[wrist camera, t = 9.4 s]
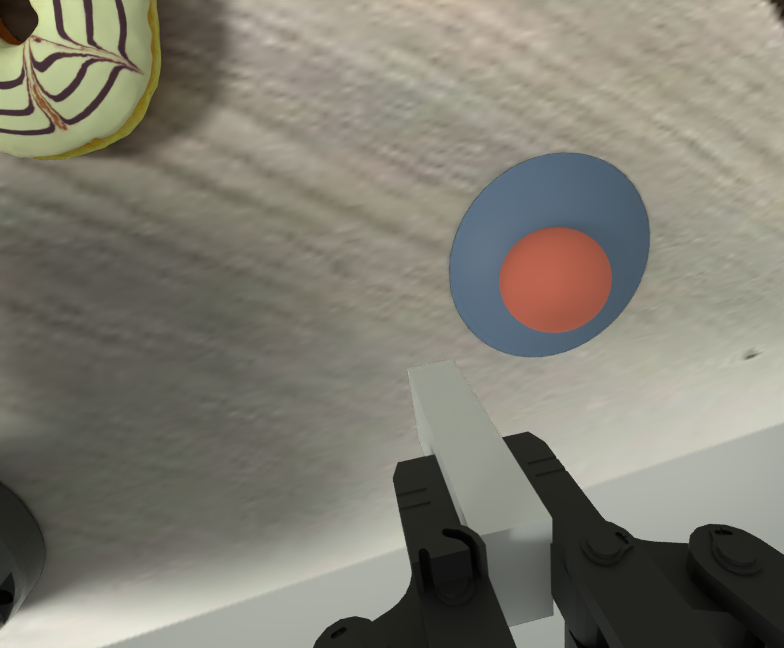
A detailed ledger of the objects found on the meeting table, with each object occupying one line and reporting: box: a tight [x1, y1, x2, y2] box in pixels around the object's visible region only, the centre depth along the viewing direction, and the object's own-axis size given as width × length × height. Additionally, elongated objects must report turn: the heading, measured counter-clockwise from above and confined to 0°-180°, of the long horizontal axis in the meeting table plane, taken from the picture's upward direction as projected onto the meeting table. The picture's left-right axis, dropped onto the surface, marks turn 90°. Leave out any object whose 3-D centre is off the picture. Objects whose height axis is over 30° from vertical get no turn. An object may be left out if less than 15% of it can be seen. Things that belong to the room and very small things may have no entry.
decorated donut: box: [0, 0, 161, 160], centre depth 17 cm, size 10×11×4 cm
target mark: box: [449, 153, 649, 357], centre depth 25 cm, size 12×12×1 cm
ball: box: [499, 227, 612, 333], centre depth 23 cm, size 6×6×6 cm
